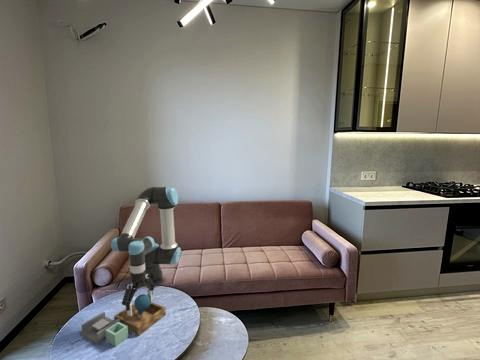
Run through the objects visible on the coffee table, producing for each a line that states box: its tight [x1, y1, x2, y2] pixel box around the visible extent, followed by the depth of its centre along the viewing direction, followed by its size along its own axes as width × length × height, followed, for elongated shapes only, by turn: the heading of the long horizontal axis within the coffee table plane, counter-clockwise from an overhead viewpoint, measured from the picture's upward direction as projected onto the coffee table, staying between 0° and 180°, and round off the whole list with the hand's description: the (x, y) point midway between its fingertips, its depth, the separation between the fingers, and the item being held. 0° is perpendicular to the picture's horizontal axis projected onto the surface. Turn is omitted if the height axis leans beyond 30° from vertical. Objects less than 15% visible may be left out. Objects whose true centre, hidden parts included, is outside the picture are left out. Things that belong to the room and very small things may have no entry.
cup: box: [105, 322, 129, 348], centre depth 133 cm, size 7×7×6 cm
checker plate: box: [92, 319, 110, 331], centre depth 138 cm, size 6×6×1 cm
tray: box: [113, 301, 167, 336], centre depth 147 cm, size 18×18×4 cm
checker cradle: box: [79, 311, 120, 346], centre depth 138 cm, size 14×14×5 cm
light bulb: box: [133, 294, 150, 318], centre depth 149 cm, size 8×8×12 cm
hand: (140, 307), depth 147 cm, fingers open, 13 cm apart
